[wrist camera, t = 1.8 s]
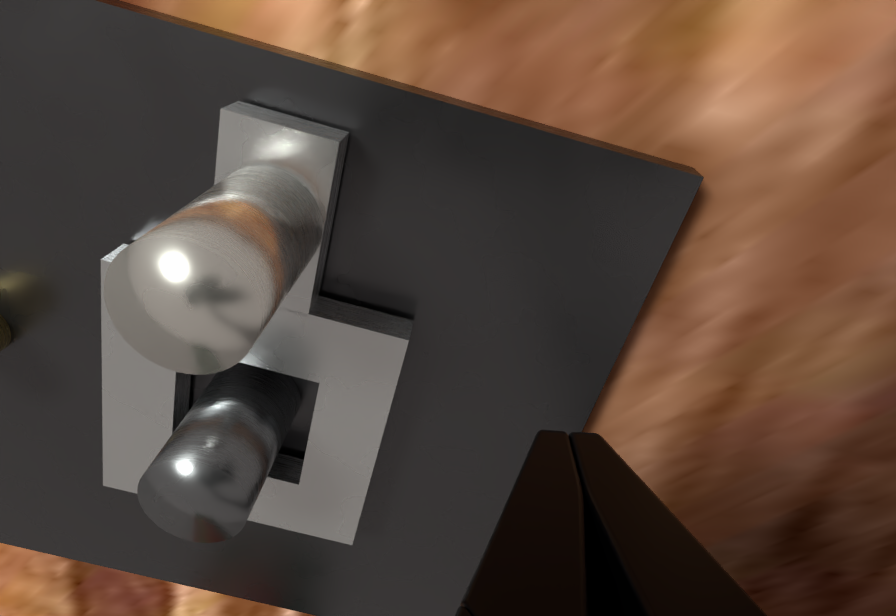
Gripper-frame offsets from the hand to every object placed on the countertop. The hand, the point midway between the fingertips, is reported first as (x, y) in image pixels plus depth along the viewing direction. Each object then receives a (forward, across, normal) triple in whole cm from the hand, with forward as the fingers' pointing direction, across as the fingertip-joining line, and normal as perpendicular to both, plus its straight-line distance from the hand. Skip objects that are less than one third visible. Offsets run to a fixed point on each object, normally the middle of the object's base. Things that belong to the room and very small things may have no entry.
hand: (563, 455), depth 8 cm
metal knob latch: (+10, +8, +4) cm, 13 cm away
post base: (+11, +9, +7) cm, 15 cm away
